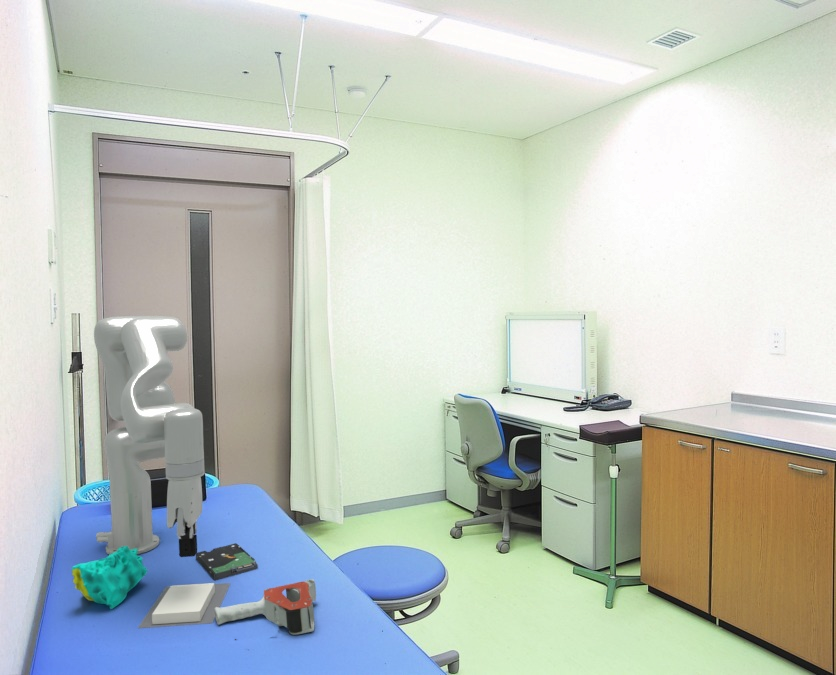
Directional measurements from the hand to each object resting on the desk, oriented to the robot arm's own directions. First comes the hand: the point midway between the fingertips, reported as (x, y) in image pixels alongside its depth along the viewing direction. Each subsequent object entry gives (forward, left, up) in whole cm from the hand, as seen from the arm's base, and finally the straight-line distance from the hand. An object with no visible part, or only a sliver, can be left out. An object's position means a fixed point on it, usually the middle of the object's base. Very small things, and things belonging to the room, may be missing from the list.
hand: (188, 555), depth 125 cm
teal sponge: (-17, +4, -10) cm, 20 cm away
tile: (0, +3, -8) cm, 9 cm away
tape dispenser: (+19, -9, -10) cm, 23 cm away
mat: (0, -2, -10) cm, 10 cm away
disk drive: (+4, +17, -11) cm, 21 cm away
